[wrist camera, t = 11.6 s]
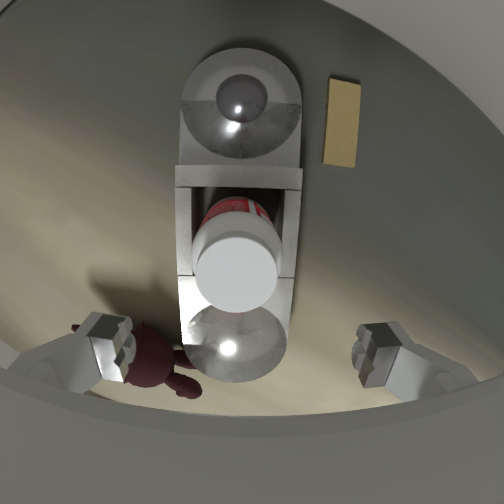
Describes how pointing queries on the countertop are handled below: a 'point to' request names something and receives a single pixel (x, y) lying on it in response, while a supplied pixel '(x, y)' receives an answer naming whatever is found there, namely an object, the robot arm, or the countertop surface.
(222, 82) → the flat tray with frame
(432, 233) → the countertop surface
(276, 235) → the pill bottle
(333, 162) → the link plate
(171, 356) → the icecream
